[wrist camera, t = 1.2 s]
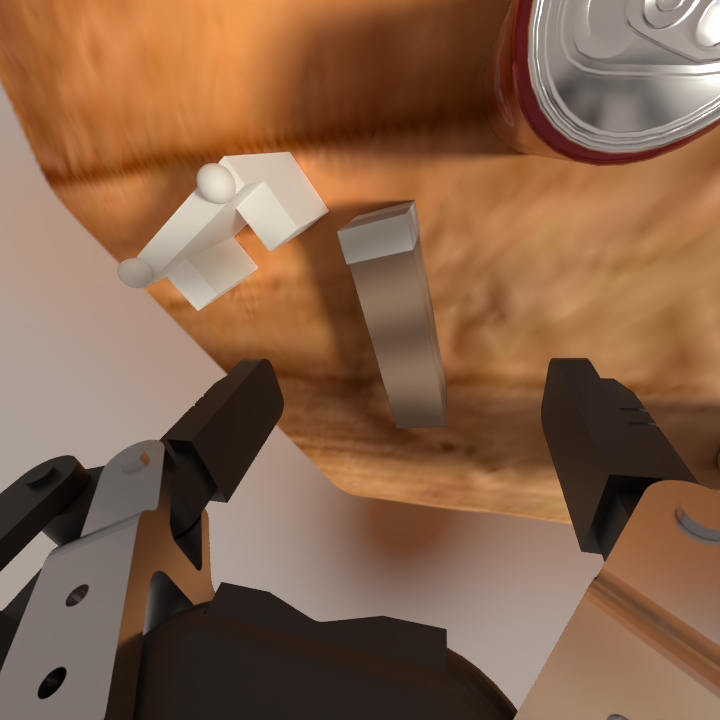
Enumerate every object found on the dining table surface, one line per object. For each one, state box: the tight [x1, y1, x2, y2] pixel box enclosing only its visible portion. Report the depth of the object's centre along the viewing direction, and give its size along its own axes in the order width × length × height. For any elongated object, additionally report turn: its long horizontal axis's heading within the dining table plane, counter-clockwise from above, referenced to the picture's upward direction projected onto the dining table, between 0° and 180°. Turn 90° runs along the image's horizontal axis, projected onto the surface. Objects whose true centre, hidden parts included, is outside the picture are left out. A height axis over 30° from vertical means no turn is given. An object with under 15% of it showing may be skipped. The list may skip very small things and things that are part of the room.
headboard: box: [118, 152, 329, 311], centre depth 22 cm, size 5×10×10 cm, turn 125°
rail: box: [337, 200, 447, 428], centre depth 25 cm, size 16×4×5 cm, turn 16°
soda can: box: [483, 0, 720, 166], centre depth 13 cm, size 7×7×12 cm
